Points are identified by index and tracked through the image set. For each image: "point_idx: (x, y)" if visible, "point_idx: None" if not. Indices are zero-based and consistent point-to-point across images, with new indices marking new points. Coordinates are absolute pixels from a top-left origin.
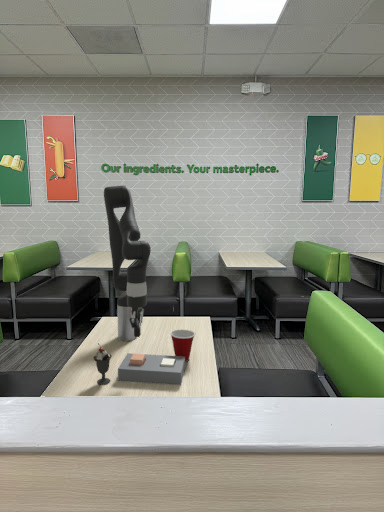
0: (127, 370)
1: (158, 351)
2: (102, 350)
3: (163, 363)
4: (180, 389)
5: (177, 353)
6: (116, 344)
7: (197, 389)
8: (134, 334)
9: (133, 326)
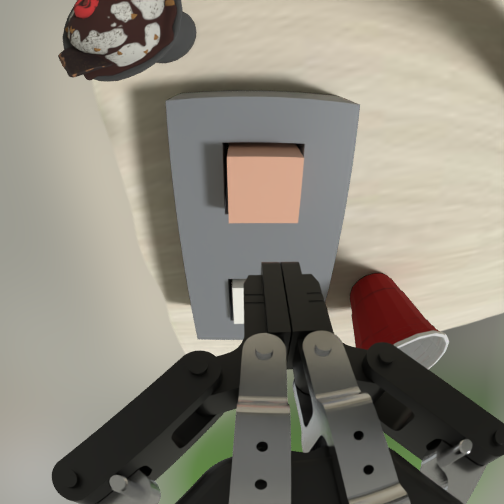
0: (171, 149)
1: (438, 209)
2: (81, 23)
3: (239, 295)
4: (179, 306)
5: (360, 304)
6: (497, 43)
7: (191, 337)
8: (261, 276)
9: (182, 382)
